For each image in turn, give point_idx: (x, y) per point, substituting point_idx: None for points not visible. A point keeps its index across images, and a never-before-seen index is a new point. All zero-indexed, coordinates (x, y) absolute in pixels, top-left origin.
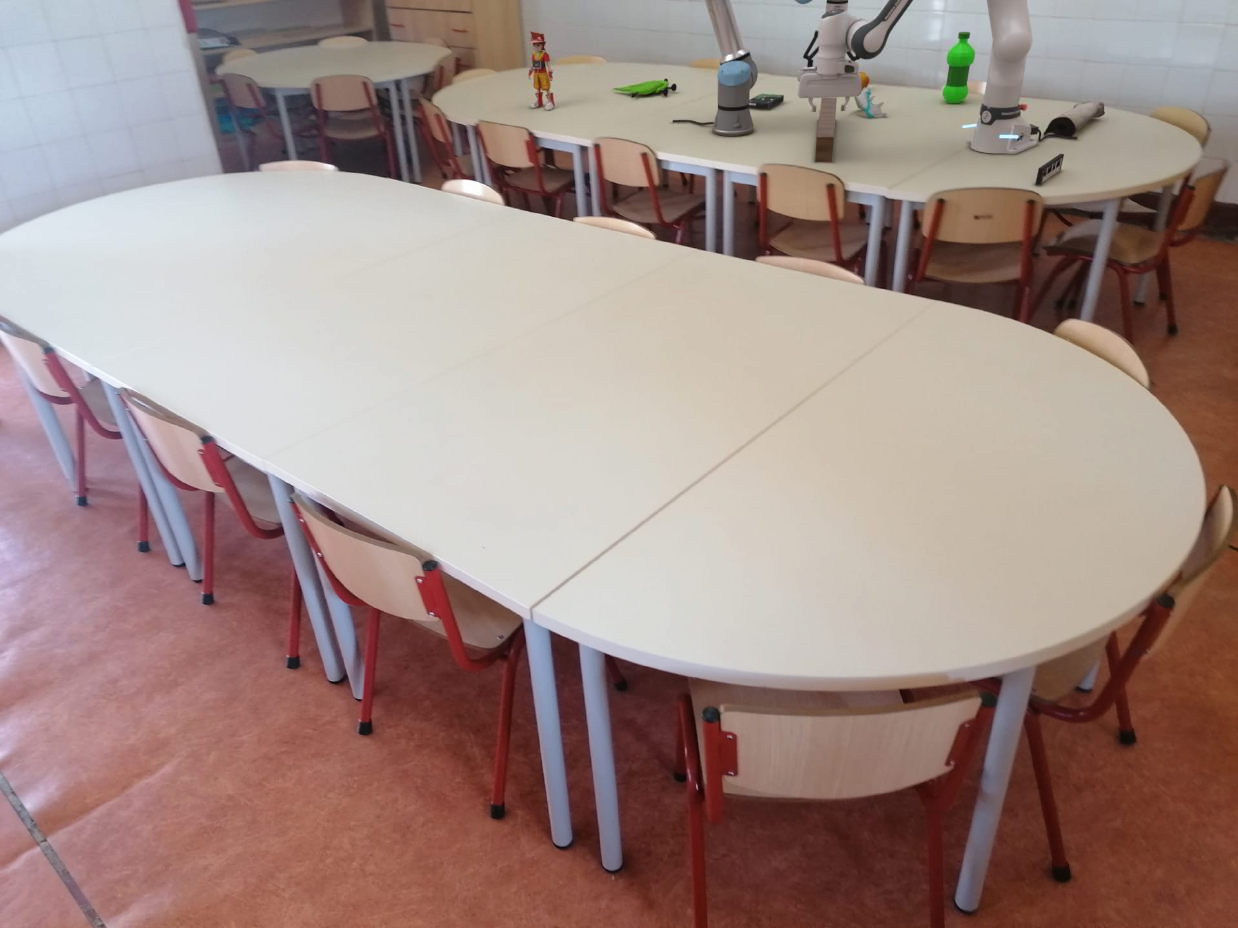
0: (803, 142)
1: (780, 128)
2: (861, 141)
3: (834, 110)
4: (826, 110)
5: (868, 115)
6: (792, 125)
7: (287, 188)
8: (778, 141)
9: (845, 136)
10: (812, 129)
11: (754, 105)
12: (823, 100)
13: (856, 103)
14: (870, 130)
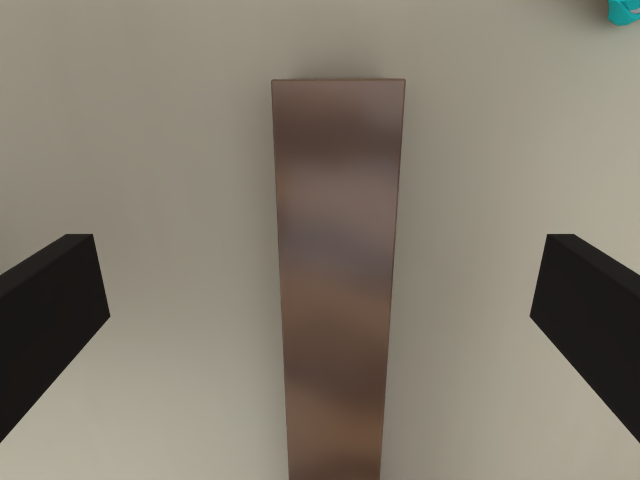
0: (245, 450)
1: None
2: (482, 440)
3: (373, 435)
4: (325, 434)
5: (618, 23)
6: (144, 193)
7: None
8: (141, 438)
9: (421, 377)
10: (262, 269)
11: None
12: (292, 184)
13: None
14: None
